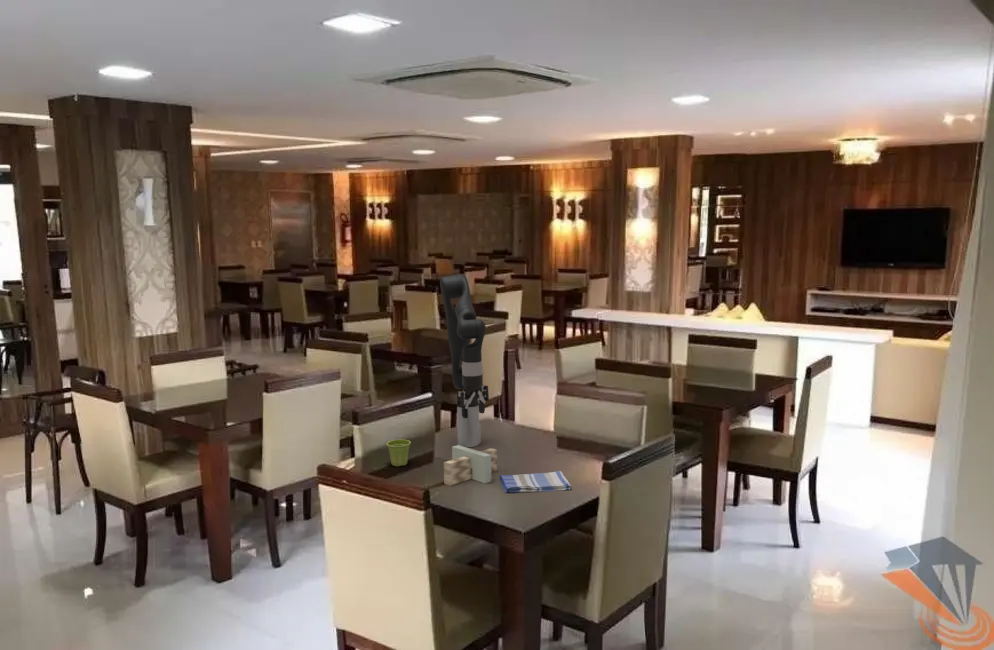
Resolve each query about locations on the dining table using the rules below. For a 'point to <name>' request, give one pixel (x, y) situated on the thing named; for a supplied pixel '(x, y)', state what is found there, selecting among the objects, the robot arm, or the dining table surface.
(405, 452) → the plant pot
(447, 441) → the dining table surface
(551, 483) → the dish towel
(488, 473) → the sage slotted board
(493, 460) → the maple slotted board
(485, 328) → the robot arm
